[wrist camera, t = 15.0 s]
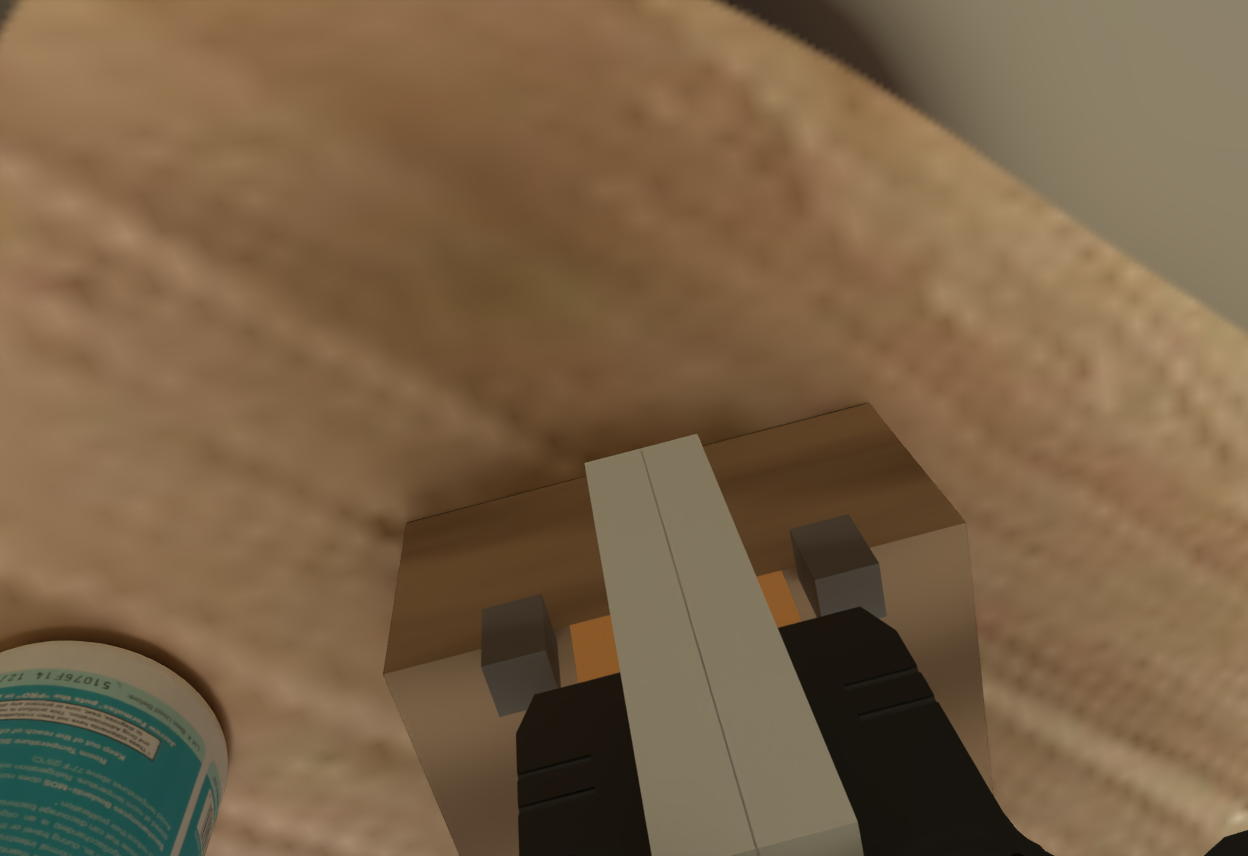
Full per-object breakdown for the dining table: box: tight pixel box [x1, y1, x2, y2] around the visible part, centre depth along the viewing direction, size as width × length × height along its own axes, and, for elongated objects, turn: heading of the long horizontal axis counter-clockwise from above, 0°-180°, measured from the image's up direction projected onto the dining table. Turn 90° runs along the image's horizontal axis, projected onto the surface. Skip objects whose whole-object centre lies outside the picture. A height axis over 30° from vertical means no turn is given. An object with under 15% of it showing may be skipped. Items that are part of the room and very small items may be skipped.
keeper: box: [570, 570, 802, 683], centre depth 17 cm, size 6×4×1 cm
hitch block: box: [383, 403, 993, 856], centre depth 26 cm, size 17×12×8 cm
